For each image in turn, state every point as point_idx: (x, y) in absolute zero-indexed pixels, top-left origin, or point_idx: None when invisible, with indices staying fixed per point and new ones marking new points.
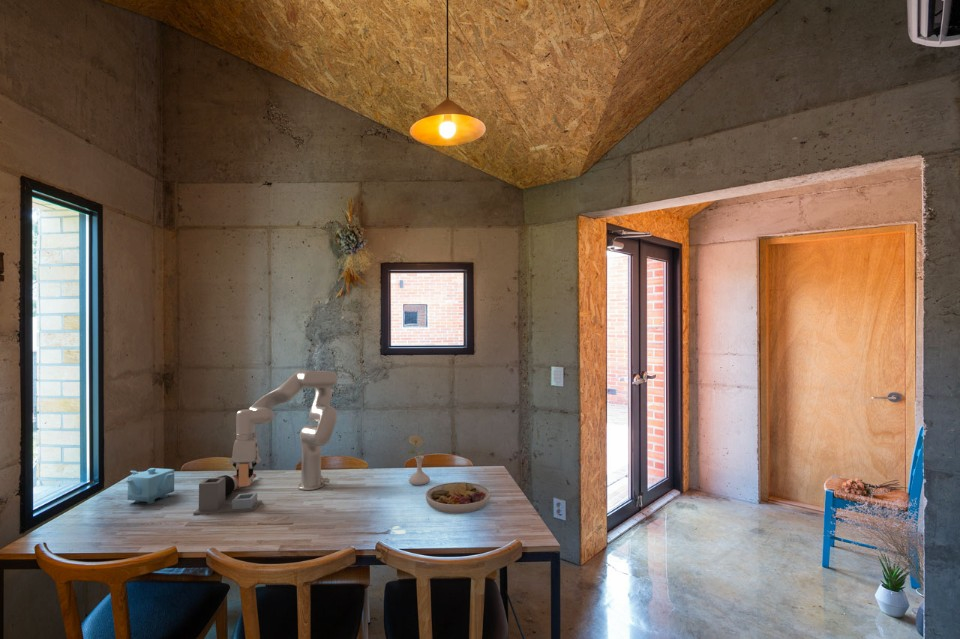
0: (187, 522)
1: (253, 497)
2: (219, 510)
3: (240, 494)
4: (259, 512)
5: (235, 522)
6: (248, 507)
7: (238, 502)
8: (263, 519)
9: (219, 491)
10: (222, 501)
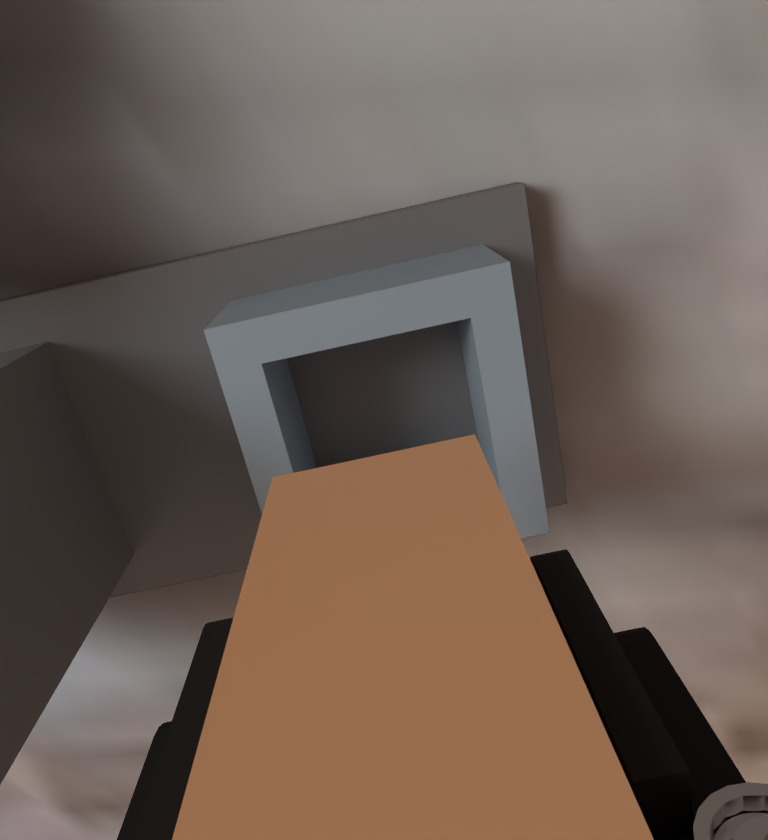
0: (27, 766)
1: (535, 445)
2: (160, 562)
3: (246, 353)
4: (640, 511)
5: None
6: None
7: None
8: (755, 663)
9: (14, 677)
10: (59, 458)
